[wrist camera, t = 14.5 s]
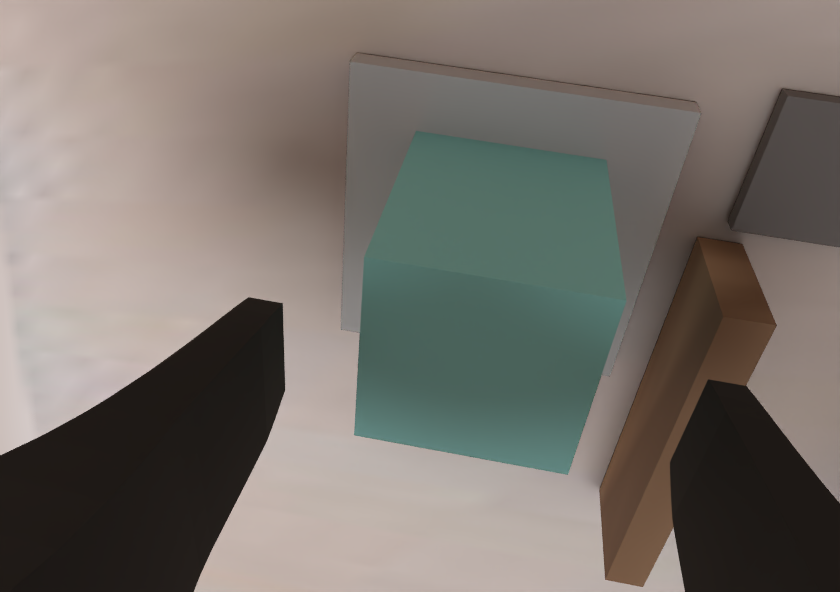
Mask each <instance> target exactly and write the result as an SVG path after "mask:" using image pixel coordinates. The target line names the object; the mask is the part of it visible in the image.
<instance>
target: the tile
mask: <svg viewBox="0 0 840 592" xmlns="http://www.w3.org/2000/svg"><path fill="white" fill-rule="evenodd" d="M700 116H701V111H700V109H699V107H698V105H697V103H696V102H691V101H684V100H678V99H671V98H664V97H657V96H650V95H643V94H636V93H629V92H623V91H616V90H609V89H602V88H595V87H588V86H581V85H574V84H568V83H561V82H554V81H547V80H540V79H533V78H526V77H520V76H513V75H506V74H499V73H492V72H485V71H478V70H471V69H465V68H458V67H451V66H444V65H437V64H430V63H423V62H416V61H410V60H403V59H396V58H389V57H382V56H375V55H368V54H361V53H356V54H355V56H354V57H353V58H352V59H351V61H350V71H349V100H348V130H347V160H346V189H345V219H344V248H343V278H342V308H341V330H345V331H351V332H357V333H360V321H361V303H362V285H363V267H364V256H365V253H366V251H367V249H368V246H369V244H370V241H371V239H372V236H373V234H374V232H375V229H376V227H377V224H378V222H379V219H380V217H381V215H382V212H383V210H384V207H385V205H386V203H387V200H388V198H389V195H390V193H391V190H392V188H393V186H394V183H395V181H396V178H397V176H398V173H399V171H400V169H401V166H402V164H403V161H404V159H405V157H406V154H407V152H408V149H409V147H410V144H411V142H412V140H413V137H414V135H415V132H416V131H420V132H427V133H434V134H440V135H447V136H453V137H460V138H466V139H473V140H479V141H486V142H493V143H499V144H506V145H512V146H519V147H525V148H532V149H538V150H545V151H552V152H558V153H565V154H571V155H578V156H584V157H591V158H597V159H604V160H607V167H608V174H609V181H610V188H611V195H612V202H613V209H614V216H615V223H616V230H617V237H618V244H619V251H620V258H621V265H622V272H623V279H624V286H625V293H626V300H627V301H626V304H625V307H624V310H623V313H622V316H621V319H620V322H619V325H618V328H617V331H616V334H615V337H614V339H613V342H612V345H611V348H610V351H609V354H608V357H607V360H606V363H605V366H604V369H603V372H602V375H604V376H609V377H610V374H611V371H612V368H613V366H614V363H615V360H616V357H617V354H618V351H619V348H620V346H621V343H622V340H623V337H624V334H625V331H626V328H627V325H628V323H629V320H630V317H631V314H632V311H633V308H634V305H635V302H636V300H637V297H638V294H639V291H640V288H641V285H642V282H643V279H644V277H645V274H646V271H647V268H648V265H649V262H650V259H651V256H652V254H653V251H654V248H655V245H656V242H657V239H658V236H659V233H660V231H661V228H662V225H663V222H664V219H665V216H666V213H667V210H668V208H669V205H670V202H671V199H672V196H673V193H674V190H675V188H676V185H677V182H678V179H679V176H680V173H681V170H682V167H683V165H684V162H685V159H686V156H687V153H688V150H689V147H690V144H691V142H692V139H693V136H694V133H695V130H696V127H697V124H698V121H699V119H700Z"/></svg>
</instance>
